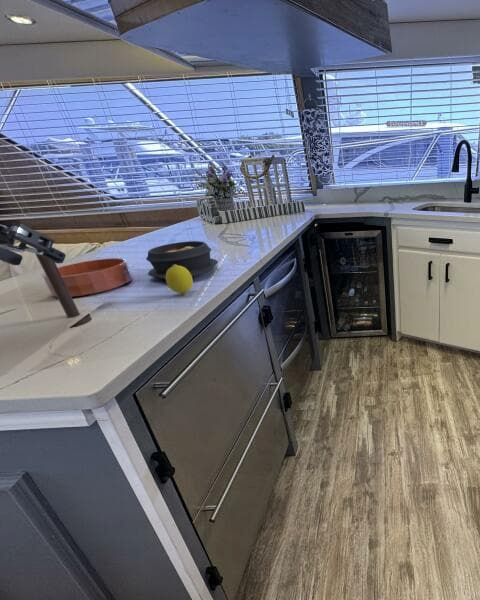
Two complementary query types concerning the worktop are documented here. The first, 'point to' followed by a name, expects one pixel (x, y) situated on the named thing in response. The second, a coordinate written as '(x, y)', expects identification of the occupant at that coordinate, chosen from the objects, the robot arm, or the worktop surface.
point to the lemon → (179, 279)
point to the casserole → (181, 258)
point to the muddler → (61, 290)
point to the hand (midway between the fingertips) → (40, 260)
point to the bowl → (93, 276)
